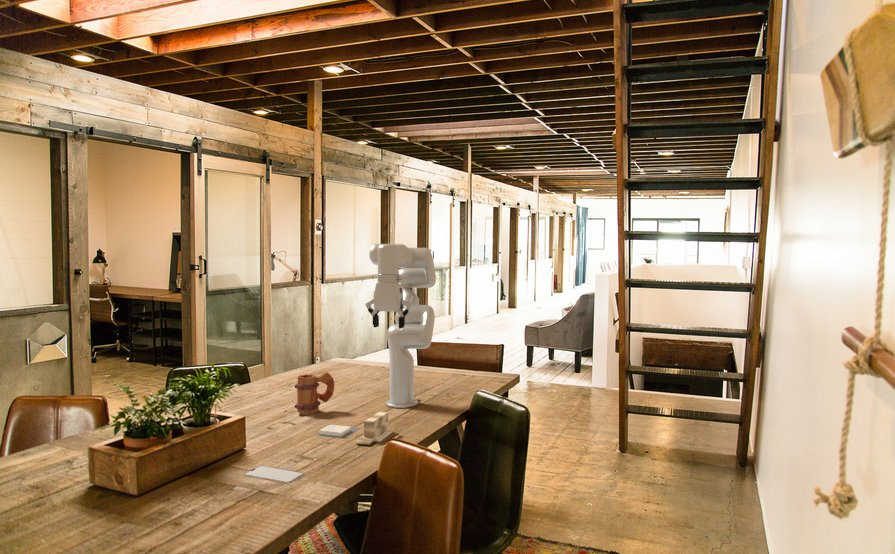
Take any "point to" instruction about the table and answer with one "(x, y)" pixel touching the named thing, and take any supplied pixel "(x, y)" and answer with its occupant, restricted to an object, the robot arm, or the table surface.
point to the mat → (353, 429)
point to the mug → (312, 392)
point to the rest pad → (383, 436)
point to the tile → (335, 430)
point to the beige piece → (374, 428)
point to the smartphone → (273, 474)
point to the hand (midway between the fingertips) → (388, 327)
